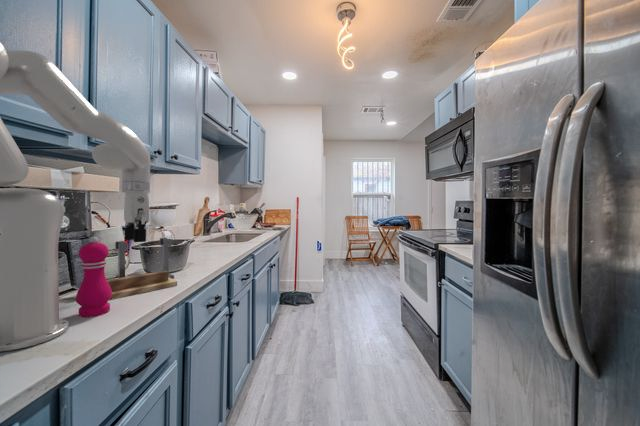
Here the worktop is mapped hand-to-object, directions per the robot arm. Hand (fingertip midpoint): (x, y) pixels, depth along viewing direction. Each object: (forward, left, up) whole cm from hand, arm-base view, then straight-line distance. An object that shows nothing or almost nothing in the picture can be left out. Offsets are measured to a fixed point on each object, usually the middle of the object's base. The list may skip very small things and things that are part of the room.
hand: (134, 240), depth 87 cm
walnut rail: (+1, +1, -15) cm, 15 cm away
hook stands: (+6, +10, -17) cm, 20 cm away
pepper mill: (-12, -13, -17) cm, 24 cm away
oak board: (+1, 0, -17) cm, 17 cm away
